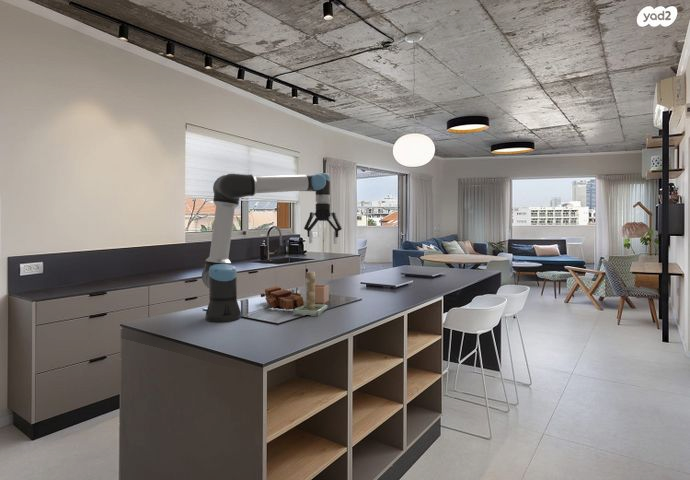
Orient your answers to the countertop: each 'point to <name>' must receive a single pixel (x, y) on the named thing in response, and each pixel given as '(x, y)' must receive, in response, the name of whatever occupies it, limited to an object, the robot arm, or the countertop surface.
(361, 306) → the countertop surface
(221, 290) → the robot arm
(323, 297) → the pink cube
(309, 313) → the tray
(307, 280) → the cream tall column
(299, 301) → the brown chunky pile
